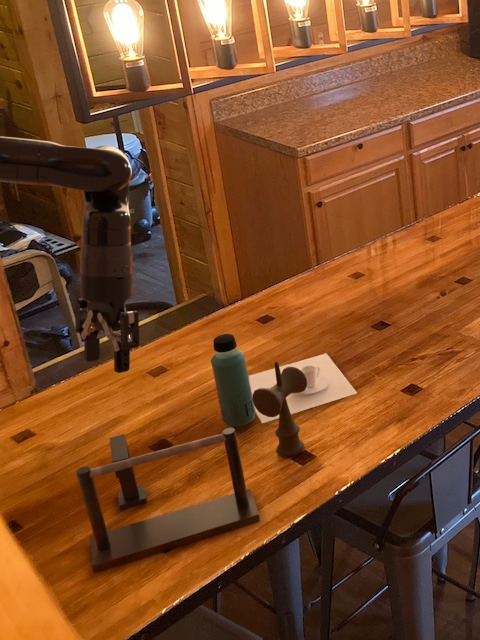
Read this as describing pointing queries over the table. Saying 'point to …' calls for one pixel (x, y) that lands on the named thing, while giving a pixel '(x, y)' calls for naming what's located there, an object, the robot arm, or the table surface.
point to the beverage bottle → (232, 382)
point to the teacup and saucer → (320, 389)
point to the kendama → (282, 407)
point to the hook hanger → (126, 476)
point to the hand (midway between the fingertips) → (106, 366)
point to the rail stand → (170, 526)
